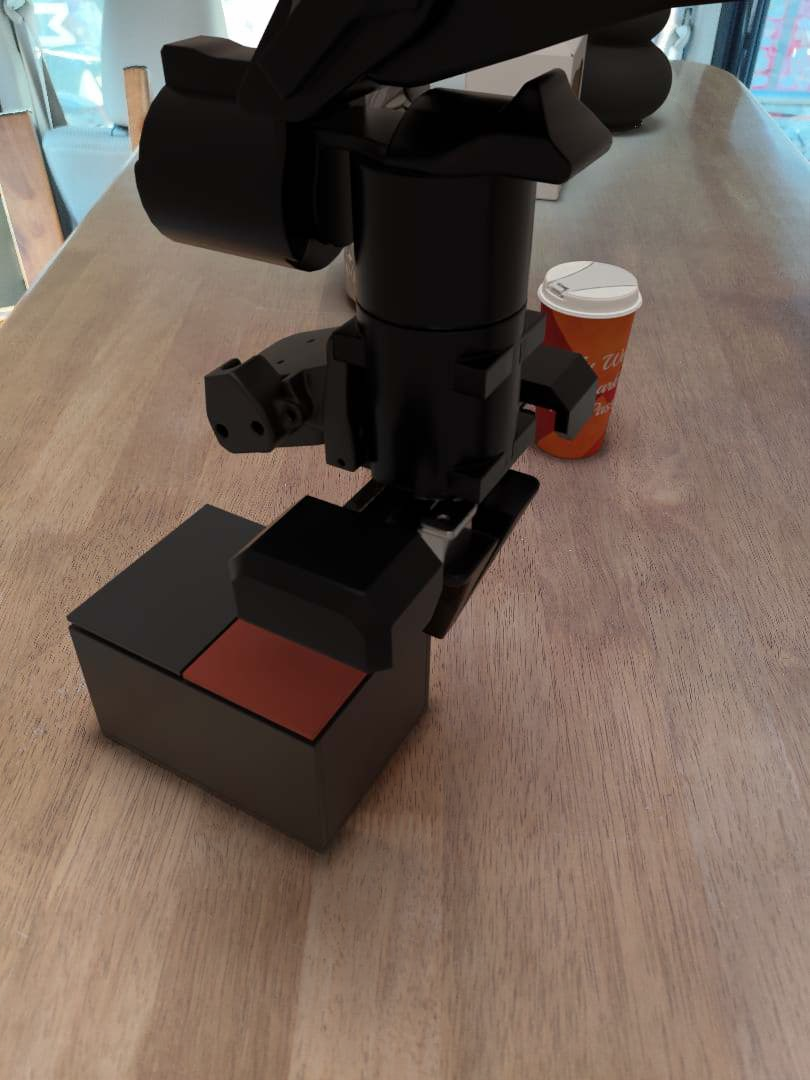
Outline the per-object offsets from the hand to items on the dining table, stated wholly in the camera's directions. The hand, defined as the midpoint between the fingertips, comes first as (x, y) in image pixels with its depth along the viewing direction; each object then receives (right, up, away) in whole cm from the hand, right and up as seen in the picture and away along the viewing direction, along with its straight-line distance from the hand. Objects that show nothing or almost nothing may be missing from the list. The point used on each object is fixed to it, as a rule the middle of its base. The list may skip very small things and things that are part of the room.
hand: (435, 631), depth 40 cm
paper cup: (+12, +12, +35) cm, 39 cm away
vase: (+32, +72, +109) cm, 135 cm away
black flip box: (-9, -6, +12) cm, 16 cm away
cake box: (+15, +57, +90) cm, 107 cm away
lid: (-6, -1, +5) cm, 8 cm away
